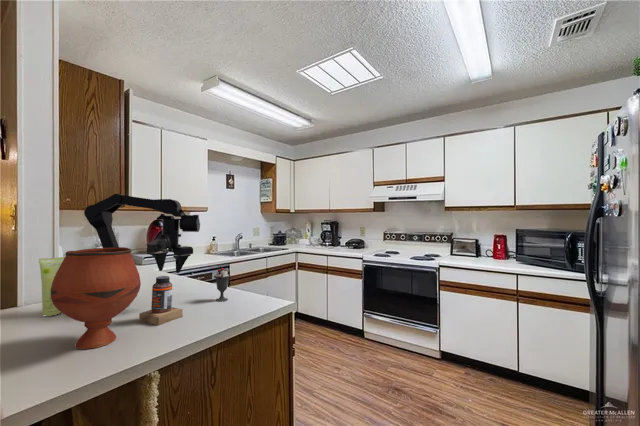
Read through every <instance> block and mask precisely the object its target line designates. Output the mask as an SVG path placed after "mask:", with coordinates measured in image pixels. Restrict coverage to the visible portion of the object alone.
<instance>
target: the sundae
mask: <svg viewBox="0 0 640 426" xmlns="http://www.w3.org/2000/svg"><path fill="white" fill-rule="evenodd" d="M217 266H218V267H220V268H221V269H220V268H218V269H217V272H216V273H215V275H214V276H213V277H214V279H215V283H216V289H217V291H219V293H220V296H219V298H216V299H215V301H216V302H217V303H219V302H222V301H223V302H226V301H229V298H227V297H225V296H224V293H225V291H226V290H227V289H228V287H229V280H230V277H231V276H232V275H231V270H228V271H227V269H225V268H223V267H221V266H220V264H217Z"/></svg>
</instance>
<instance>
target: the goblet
mask: <svg viewBox="0 0 640 426" xmlns="http://www.w3.org/2000/svg"><path fill="white" fill-rule="evenodd" d="M132 251H133V250H132V249H131V248H128V247H125V246H124V247H121V246H119V247H110V248H103V247H96V248H95V247H94V248H85V249H78V250H67V251H65V256H64V257H65V258H64V260H63V262H62V263H61V265H60V267H59V269H58V271H57V273H56V275H55V277H54V280H53V282H52V286H51V300H52V302H53V304H54V306H55V307H56V308H57V309H58V310H59V311H60V312H61V314H62V315H65V317H68V318H70V319H72V320H74V321H77V322H80V323H81V322H82V323H84V327H85V328H86V330H85V332H84V333H83V334H82V335H81V336H80V337H79V338H78V339H77V340H76V342H75V344H74V347H75V349H77V350H89V349H95V348H99V347H103V346H107V345H109V344H111V343H112V342H114V341H116V340H117V335H116V334H115V332H114V331H113V330H111V329H110V328H109V326H110V325H111V324H112V323H113V320H112V319H113V318H115V317H116V316H118V315H119V314H122V312H124V311H125V310H126V309H127V308H128V307H130V305H131V303H133V301H134V300H135V299H136V298H137V296H138V294H139V292H140V289H141V284H142V282H141V277H140V273H139V270H138V268H137V266H136V263H135V260H134V258H133V256H132Z"/></svg>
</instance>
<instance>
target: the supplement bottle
mask: <svg viewBox="0 0 640 426" xmlns="http://www.w3.org/2000/svg"><path fill="white" fill-rule="evenodd" d="M151 288H152V289H151V290H152V291H151V305H150V306H151V308H150V310H151V311H152V312H154V313H164V312H167V311H169V310H171V307H172V305H173V304H172V303H173V302H172V301H173V283H172V282H170V276H168V275H160V276H157V277H156V279H155V283H154V284H153V285H152V287H151Z"/></svg>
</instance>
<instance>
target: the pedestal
mask: <svg viewBox="0 0 640 426" xmlns="http://www.w3.org/2000/svg"><path fill="white" fill-rule="evenodd" d="M183 313H184V312H183V309H182V308H177V307H172V306H171V310H169V311H167V312H164V313H154V312H152V311H151V309H150V310H146V311H142V312H140V313H139V314H138V316H139V317H138V319H139V320H138V321H139V322H142V323H147V324H150V325H154V326H155V325H156V326H161V325H164V324H166V323H169V322H172V321H175V320H177V319H180V318H182V317H183V315H184V314H183Z"/></svg>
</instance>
